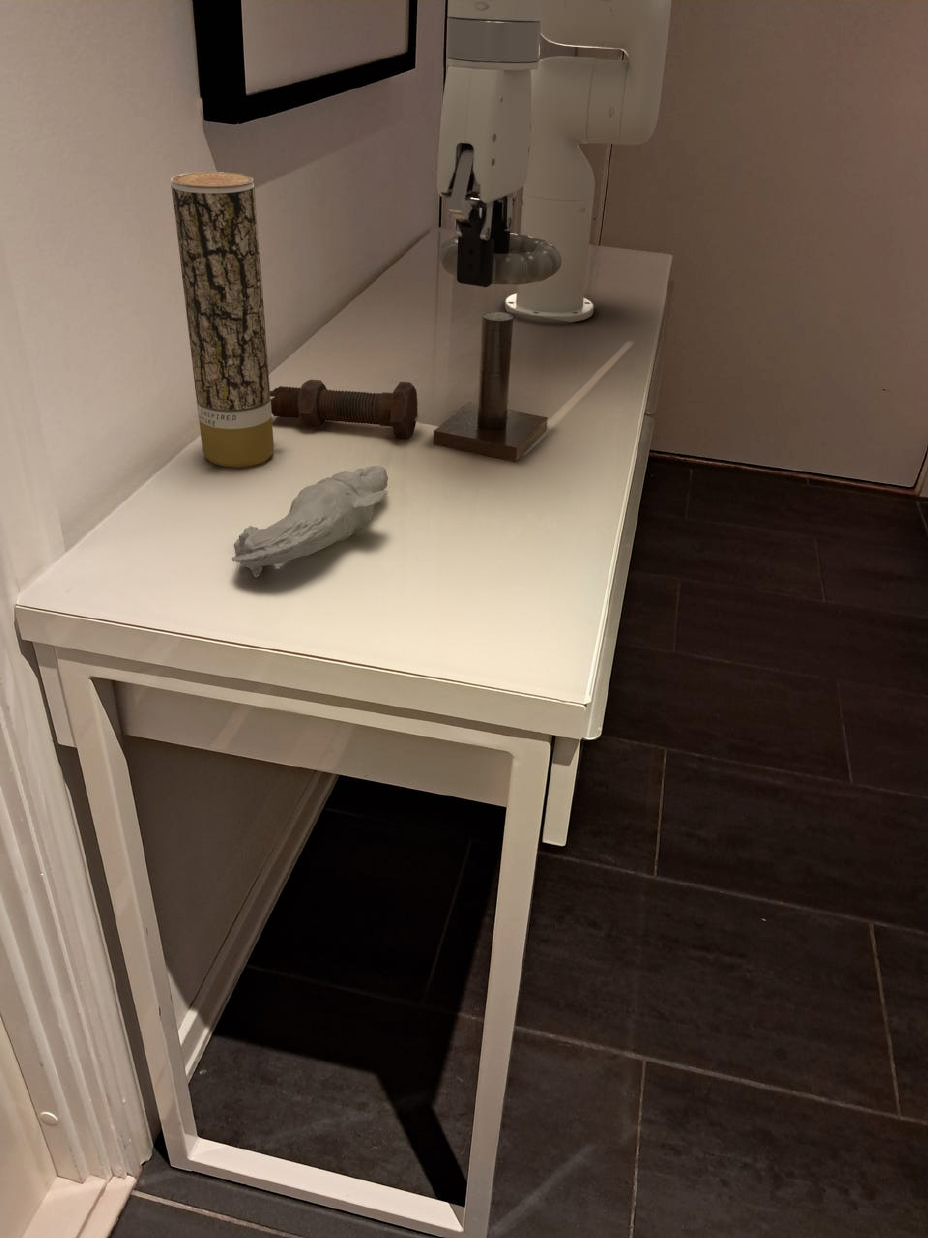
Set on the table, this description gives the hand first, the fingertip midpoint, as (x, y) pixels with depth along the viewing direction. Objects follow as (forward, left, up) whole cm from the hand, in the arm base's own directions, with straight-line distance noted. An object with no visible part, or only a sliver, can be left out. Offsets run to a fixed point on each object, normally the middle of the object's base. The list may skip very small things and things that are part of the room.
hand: (482, 277), depth 90 cm
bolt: (0, -15, -17) cm, 23 cm away
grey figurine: (+22, -5, -17) cm, 28 cm away
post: (-4, 0, -17) cm, 18 cm away
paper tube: (+12, -20, -17) cm, 29 cm away
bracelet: (-4, 0, +1) cm, 4 cm away
